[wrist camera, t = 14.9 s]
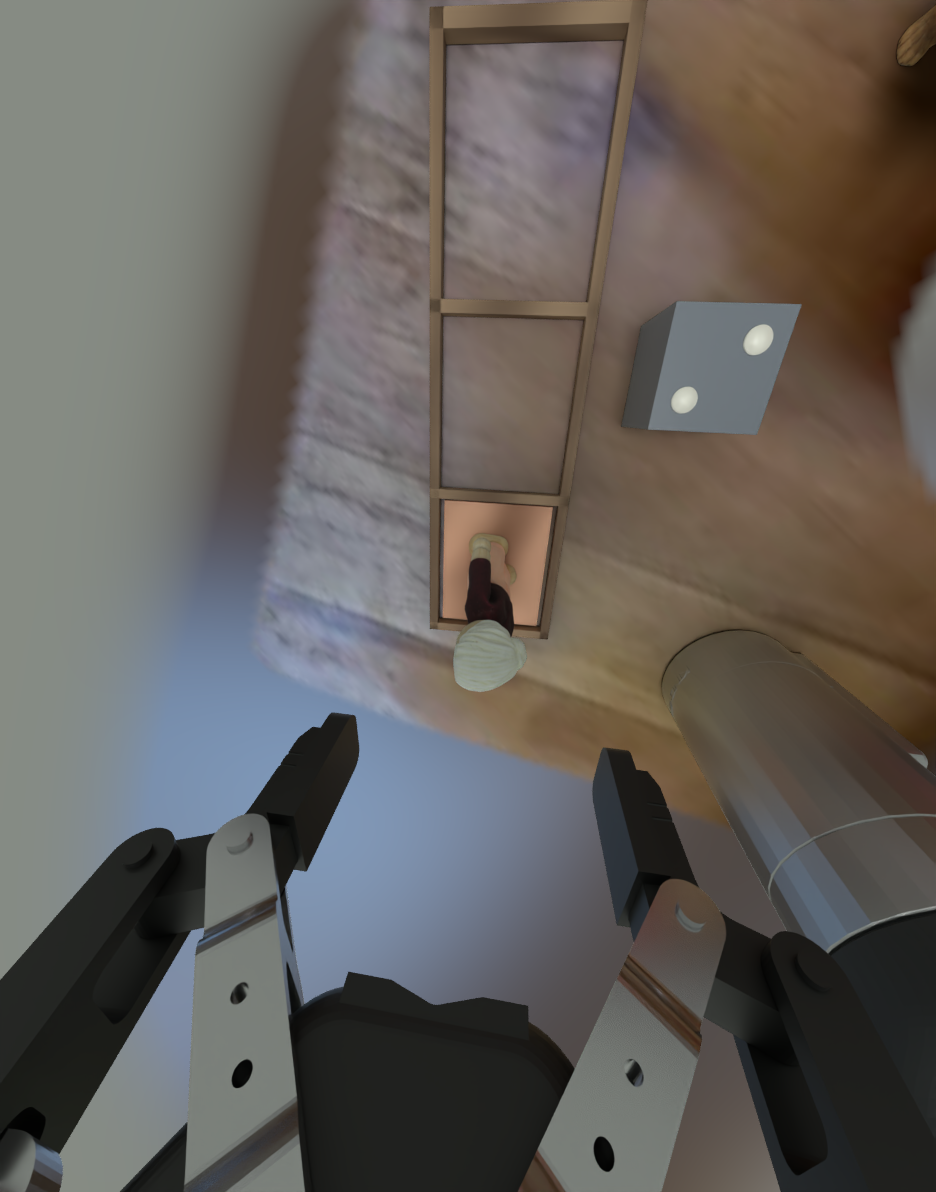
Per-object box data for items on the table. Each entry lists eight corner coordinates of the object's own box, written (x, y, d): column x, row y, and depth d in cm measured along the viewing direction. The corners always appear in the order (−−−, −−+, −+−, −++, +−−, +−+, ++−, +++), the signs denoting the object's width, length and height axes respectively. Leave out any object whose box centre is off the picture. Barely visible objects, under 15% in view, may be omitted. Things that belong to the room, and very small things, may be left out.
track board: (641, 17, 16) (647, -1, 15) (546, 633, 29) (547, 639, 29) (433, 24, 17) (429, 7, 16) (432, 623, 30) (429, 628, 29)
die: (737, 328, 20) (804, 303, 16) (707, 430, 22) (758, 434, 18) (641, 325, 21) (678, 300, 16) (621, 426, 23) (648, 429, 18)
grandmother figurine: (446, 531, 26) (396, 620, 15) (496, 509, 25) (484, 585, 14) (492, 621, 29) (478, 753, 18) (539, 603, 28) (557, 732, 17)
